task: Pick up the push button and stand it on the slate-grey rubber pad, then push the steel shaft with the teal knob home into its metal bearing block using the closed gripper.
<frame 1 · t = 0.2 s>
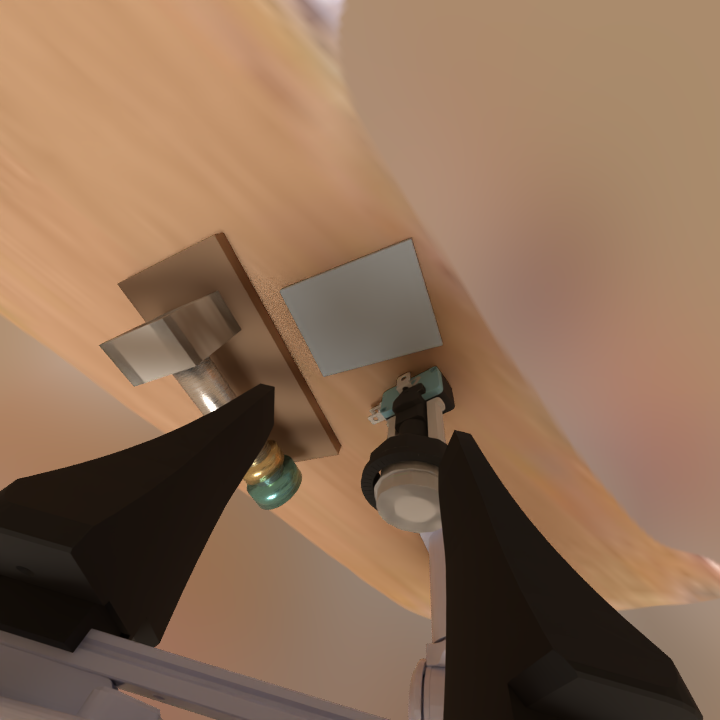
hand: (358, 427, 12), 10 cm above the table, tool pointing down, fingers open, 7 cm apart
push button: (407, 389, 23), on the table
shaft: (231, 420, 22), point 4 cm above the table, slide at 6.0 cm
bracket: (235, 356, 24), on the table
pad: (362, 314, 20), on the table
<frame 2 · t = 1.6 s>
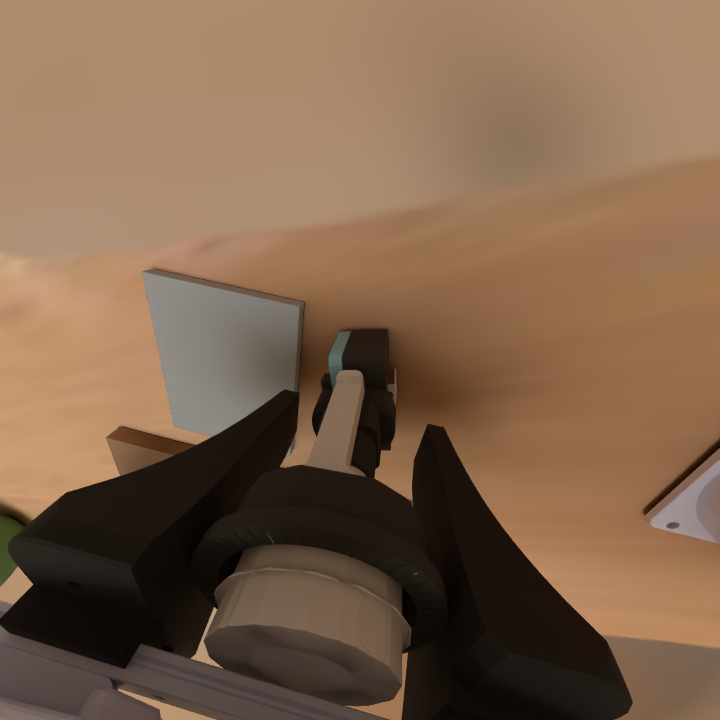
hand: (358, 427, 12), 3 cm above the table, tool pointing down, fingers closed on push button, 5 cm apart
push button: (366, 383, 14), on the table, touching gripper
alien toy: (15, 517, 29), on the table
bracket: (241, 500, 21), on the table
pad: (232, 370, 15), on the table
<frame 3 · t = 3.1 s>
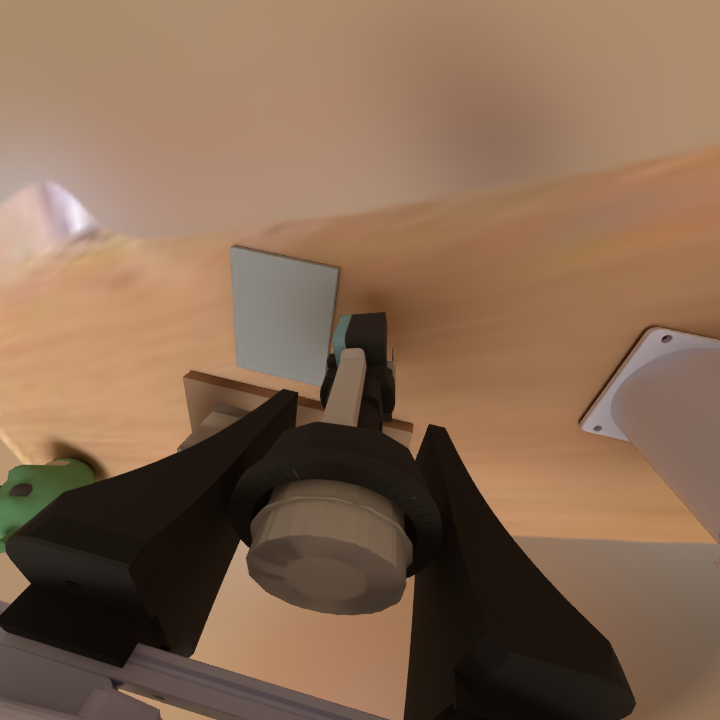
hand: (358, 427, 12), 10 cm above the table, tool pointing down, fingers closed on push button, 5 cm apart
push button: (367, 364, 16), point 5 cm above the table, touching gripper
alien toy: (83, 462, 35), on the table
bracket: (280, 432, 27), on the table
pad: (284, 320, 21), on the table
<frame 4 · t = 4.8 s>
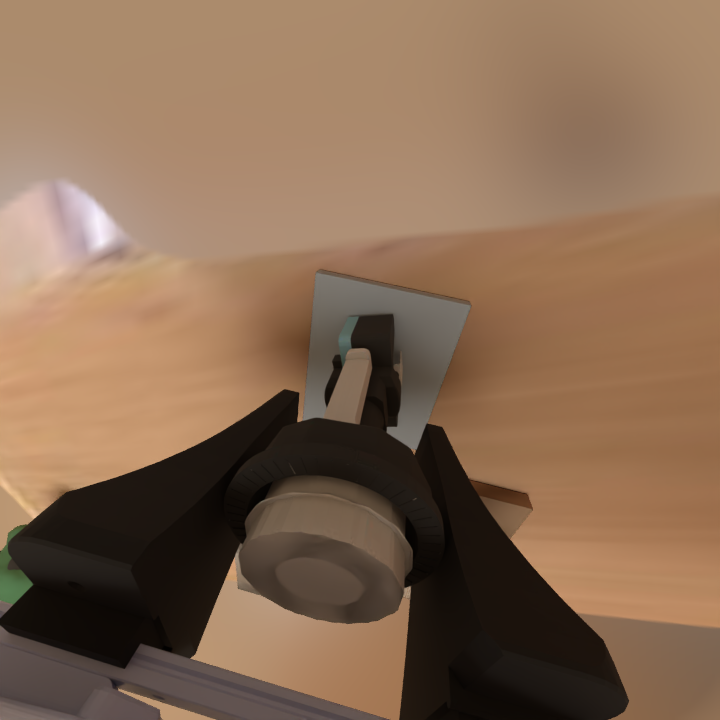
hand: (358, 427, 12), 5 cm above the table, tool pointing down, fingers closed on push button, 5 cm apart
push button: (373, 367, 15), resting on pad, touching gripper
alien toy: (96, 512, 30), on the table
shaft: (385, 566, 18), point 4 cm above the table, slide at 6.0 cm
bracket: (346, 494, 21), on the table
pad: (374, 367, 16), on the table
when the fingers open (5 cm above the table, at t = 5.2 s): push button stays where it is, resting on pad.
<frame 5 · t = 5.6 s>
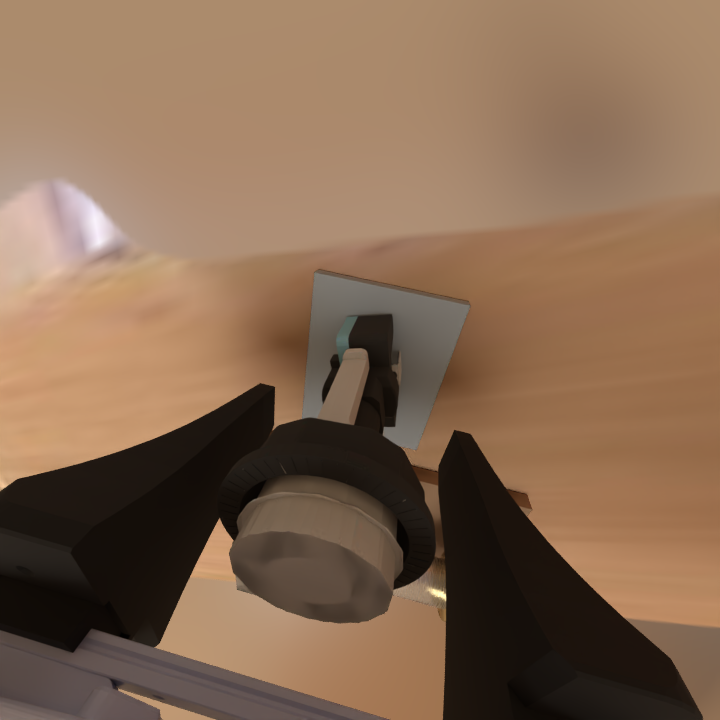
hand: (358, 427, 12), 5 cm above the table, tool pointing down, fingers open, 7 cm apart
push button: (373, 367, 15), resting on pad
shaft: (384, 567, 18), point 4 cm above the table, slide at 6.0 cm
bracket: (345, 494, 21), on the table
pad: (373, 367, 16), on the table
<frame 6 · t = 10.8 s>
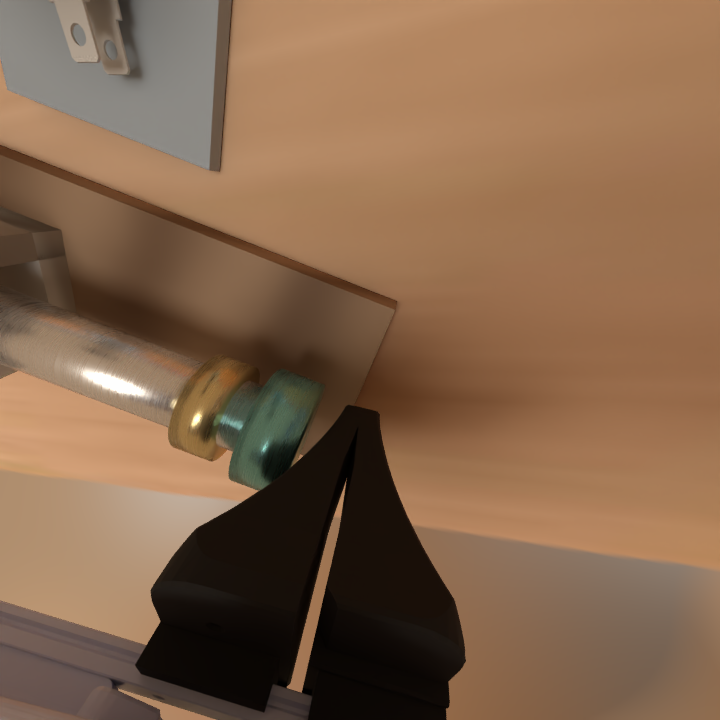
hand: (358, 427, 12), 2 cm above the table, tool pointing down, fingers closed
shaft: (105, 362, 10), point 4 cm above the table, slide at 5.0 cm, touching gripper
bracket: (136, 301, 14), on the table
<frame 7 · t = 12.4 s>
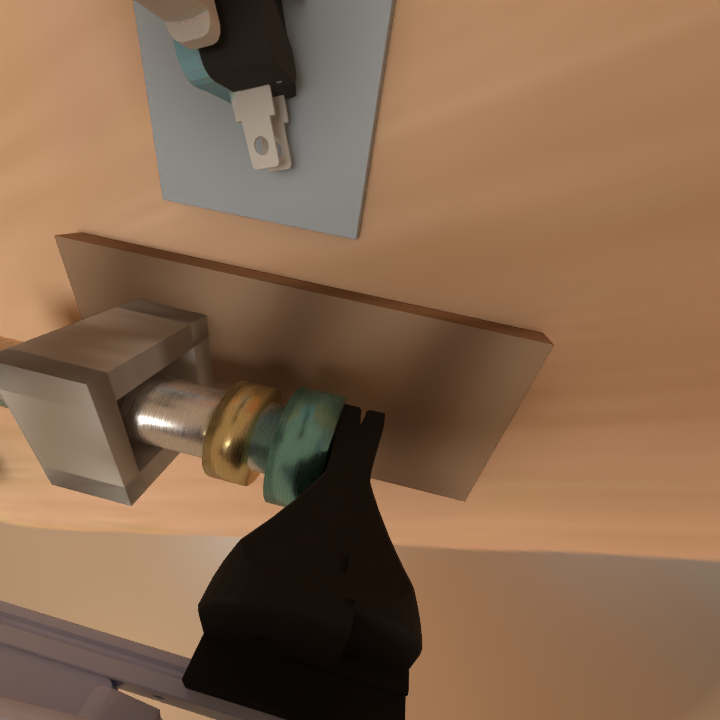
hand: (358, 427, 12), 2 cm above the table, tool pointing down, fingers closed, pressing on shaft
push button: (258, 28, 8), resting on pad
shaft: (137, 403, 11), point 4 cm above the table, slide at -0.3 cm, touching gripper
bracket: (264, 367, 14), on the table
pad: (265, 47, 9), on the table
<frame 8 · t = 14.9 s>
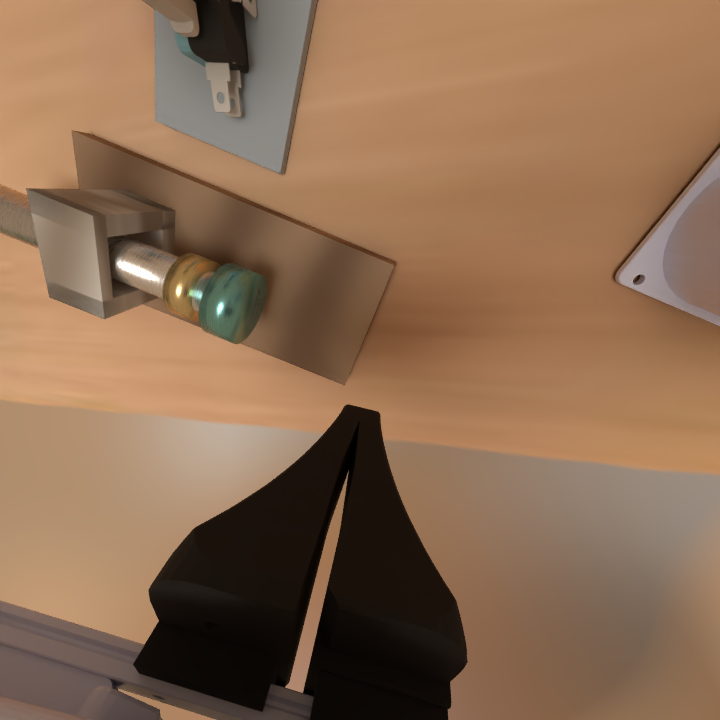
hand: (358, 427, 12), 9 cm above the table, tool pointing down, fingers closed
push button: (230, 26, 13), resting on pad
shaft: (122, 258, 16), point 4 cm above the table, slide at 0.0 cm
bracket: (213, 263, 19), on the table
pad: (234, 38, 14), on the table
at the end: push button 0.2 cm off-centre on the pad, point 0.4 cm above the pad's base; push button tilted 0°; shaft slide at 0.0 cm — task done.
